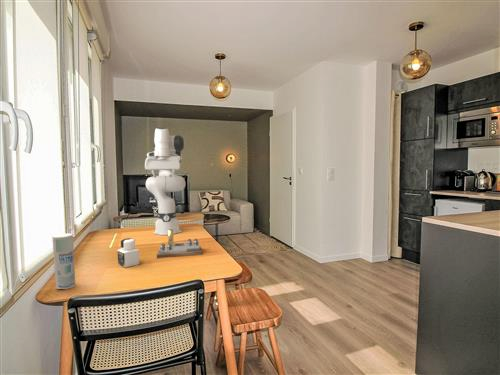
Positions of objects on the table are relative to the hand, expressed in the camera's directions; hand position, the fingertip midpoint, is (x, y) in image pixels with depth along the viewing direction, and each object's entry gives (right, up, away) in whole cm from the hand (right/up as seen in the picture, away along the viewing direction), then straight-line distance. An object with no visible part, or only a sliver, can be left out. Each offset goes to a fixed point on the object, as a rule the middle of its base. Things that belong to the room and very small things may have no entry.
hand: (163, 177), depth 174 cm
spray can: (-19, -44, -62) cm, 79 cm away
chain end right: (+18, -39, -20) cm, 48 cm away
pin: (+8, -40, -10) cm, 42 cm away
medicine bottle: (-5, -42, -38) cm, 57 cm away
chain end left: (+12, -39, -22) cm, 46 cm away
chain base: (+15, -40, -21) cm, 48 cm away
